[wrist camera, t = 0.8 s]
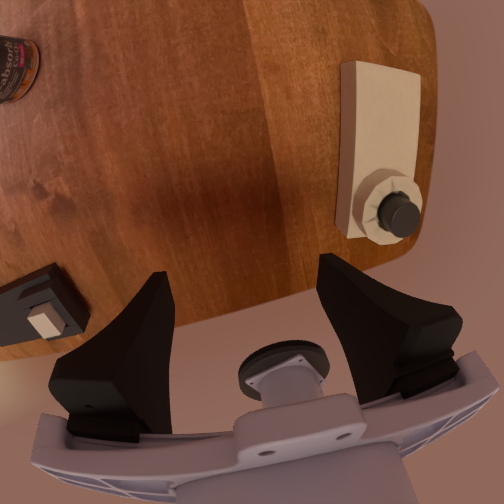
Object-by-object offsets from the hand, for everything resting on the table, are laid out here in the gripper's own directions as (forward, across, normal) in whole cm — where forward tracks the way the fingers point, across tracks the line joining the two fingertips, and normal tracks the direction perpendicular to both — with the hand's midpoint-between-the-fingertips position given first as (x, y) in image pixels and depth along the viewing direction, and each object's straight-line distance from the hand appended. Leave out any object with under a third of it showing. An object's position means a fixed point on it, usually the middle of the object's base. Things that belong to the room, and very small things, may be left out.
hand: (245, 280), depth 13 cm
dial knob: (+6, -12, 0) cm, 14 cm away
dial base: (+11, -12, -4) cm, 17 cm away
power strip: (+11, +25, +9) cm, 29 cm away
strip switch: (+7, +19, +8) cm, 21 cm away
